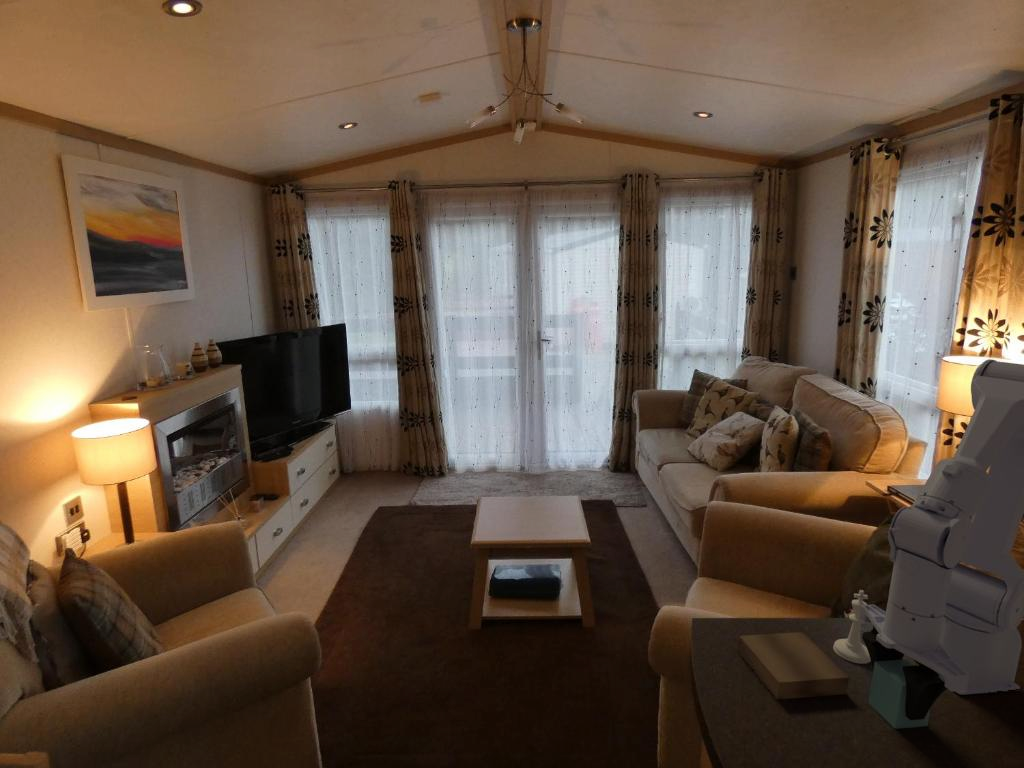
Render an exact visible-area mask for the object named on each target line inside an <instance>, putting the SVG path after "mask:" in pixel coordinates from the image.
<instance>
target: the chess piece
mask: <svg viewBox="0 0 1024 768" xmlns="http://www.w3.org/2000/svg"><path fill="white" fill-rule="evenodd" d="M853 597H854V598H856V599H852V600H851V605H852V610H853V613H851V614H849V616H848V618H849V619H850V620H851V621H852V624H851V626H850V630H849V634H848V637H847V638H839V639H836V640H835V641H834V644H833V651H834V652H835V653H836V654H837V655H838V657H840V658H842V659H844V660H846V661H848V662H851V663H855V664H863V665H865V664H869V663H870V662H871V659H870V656H869V652H868V650H867V647H866V645H865V644H863V643H862V641H861V624H866V622H864V621H863V620H861V619H860V618H859V617H860V611H861V605H868V604H867V602H865V601H864V600H868V599H869V596H868V595H867V594H865V591H864V590H863V589H859V591H858V593H853Z"/></svg>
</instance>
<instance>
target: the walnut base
mask: <svg viewBox="0 0 1024 768" xmlns="http://www.w3.org/2000/svg"><path fill="white" fill-rule="evenodd" d="M737 643H738V644H737V652H739V653H738V654H739V655H740V656H741V657H742V659H743V658H744V659H743V660H744V661H745V663H746V664H747V663H748V664H749V665H748V664H747V665H748V666H749V667H750V668H751V670H752V669H753V670H754V671H753V670H752V671H753V672H754V674H755V675H756V674H757V675H756V676H757V677H758V678H759V680H760V681H761V682H762V683H763V684H764V686H765V687H766V688H767V690H768V691H769V690H770V693H771V694H772V696H773V697H774V698H775V699H776V700H787V699H788V700H789V699H799V698H801V699H802V698H811V697H812V698H814V697H816V698H817V697H826V696H827V697H828V696H829V697H830V696H837V695H838V696H839V695H840V696H841V695H847V694H848V689H849V688H848V687H849V683H850V682H849V681H850V677H849V675H848V674H846V672H844V671H843V670H842V669H841V668H840V667H839V666H838V664H836V663H835V662H834V661H833V660H832V659H831V658H830V657H829V656H828V655H827V654H825V652H823V650H822V649H820V648H819V647H818V646H817V645H816V644H815V643H814V641H812V640H811V639H810V638H809V637H808V636H807V635H806V634H805V633H804V632H802V631H800V632H798V631H797V632H781V633H768V634H767V633H766V634H765V633H764V634H750V635H749V634H747V635H746V634H745V635H739V637H738V642H737Z"/></svg>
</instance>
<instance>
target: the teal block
mask: <svg viewBox="0 0 1024 768" xmlns="http://www.w3.org/2000/svg"><path fill="white" fill-rule="evenodd" d="M903 666H915V665H914V664H913V663H911V661H909V660H908V659H906V658H905V659H904V658H902V660H888V661H875V663H874V670H873V669H872V677H871V683H870V689H869V694H868V700H867V701H868V702H867V703H868V704H869V705H870V706H871V707H872V708H873V709H874V710H875V711H876V712H877V713H878V714H879V715H880V716H881V717H882V718H883V719H884V720H885V721H886V722H887V723H889V725H890V726H891V727H892V728H893V729H897V730H898V729H910V728H919V727H920V728H921V727H928V723H929V718H930V713H931V708H932V707H931V708H930V710H929V711H928V713H927V715H926V717H925V718H924V719H920V720H909V719H908V718H907V717H906V713H905V704H906V696H907V687H906V680H905V676H904V672H903V670H902V669H903Z"/></svg>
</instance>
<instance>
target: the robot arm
mask: <svg viewBox="0 0 1024 768" xmlns="http://www.w3.org/2000/svg"><path fill="white" fill-rule="evenodd" d="M970 394H971V404H972V408H973V410H974V411H973V412H972V415H971V418H970V420H969V422H968V424H967V426H966V428H965V431H964V433H963V435H962V436H961V437H962V438H961V440H960V442H959V444H958V446H957V449H956V451H955V453H954V455H953V457H947V458H943V459H941V460H939V461H938V462H937V463H936V465H935V466H934V468H933V470H932V472H931V473H930V475H929V477H927V480H926V481H925V483H924V485H923V487H922V488H921V490H920V491H919V493H918V494H917V496H916V498H915V500H914V502H913V503H912V504H911V505H909V506H903V507H901V508H899V509H898V511H896V513H895V515H894V516H893V518H892V521H891V523H890V526H889V528H888V532H887V533H888V535H887V537H888V538H887V539H888V543H889V546H890V553H889V559H890V561H891V562H892V563H893V566H892V567H893V568H892V573H891V574H892V575H891V580H890V586H889V591H888V598H887V604H886V609H885V610H883V609H881V608H880V607H879V606H877V605H875V604H867V605H861V611H860V617H859V618H860V619H861V620H863V621H864V622H865V623H870V624H871V625H872V626H873V627H872V629H870V631H864V632H862V635H861V639H862V640H863V642H864V646H866V647H867V650H868V652H869V656H870V659H871V661H870V662H871V668H872V671H873V670H874V663H875V661H888V660H902V659H904V656H907V657H910V659H913V660H915V661H916V662H917V663H918V665H917V664H915V665H914V666H903V669H902V670H903V672H904V676H905V680H906V687H907V696H906V704H905V713H906V717H907V718H908V719H909V720H920V719H924V718H925V717H926V715H927V713H928V711H929V710H930V711H931V709H930V708H932V706H933V705H934V704H935V702H936V701H937V700H938V698H939V697H940V696H942V694H943V693H944V692H946V691H947V690H949V692H953V693H954V692H955V693H957V694H958V695H974V694H975V695H976V694H989V692H990V693H998V692H997V691H1003V692H1009V691H1008V690H1015V689H1019V690H1020V688H1021V687H1020V685H1019V684H1017V683H1016V682H1015V678H1016V676H1017V675H1016V674H1017V670H1018V666H1019V660H1020V655H1021V652H1022V651H1021V650H1022V637H1021V633H1020V631H1019V629H1018V628H1017V627H1019V626H1020V625H1021V623H1022V621H1023V619H1024V569H1023V568H1022V567H1021V566H1020V564H1018V563H1017V562H1016V561H1015V559H1014V558H1013V556H1011V555H1012V554H1011V553H1012V550H1013V548H1014V544H1015V541H1016V538H1017V535H1018V532H1019V528H1020V525H1021V523H1022V519H1023V516H1024V364H1023V363H1022V364H1021V363H1015V362H1014V363H1013V362H1008V361H1007V362H1006V361H998V360H996V359H990V358H989V359H985V360H984V361H983V362H981V363H980V364H979V365H978V366H977V368H976V369H975V371H974V373H973V376H972V379H971V382H970ZM963 563H964V564H963ZM965 564H966V565H965ZM967 565H968V566H967ZM969 566H972V567H974V568H972V567H969ZM975 568H976V569H975ZM978 569H980V570H981V571H980V570H978ZM983 571H984V572H983ZM985 572H987V573H985ZM988 573H990V574H992V575H990V574H988ZM993 575H995V576H993ZM996 576H997V577H996ZM1015 691H1016V690H1015Z"/></svg>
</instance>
